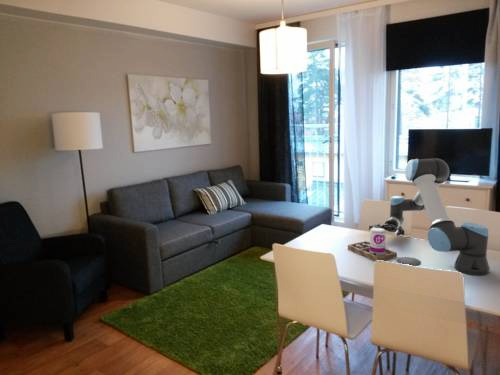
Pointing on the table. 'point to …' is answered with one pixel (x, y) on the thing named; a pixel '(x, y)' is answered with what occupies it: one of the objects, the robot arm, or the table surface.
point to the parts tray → (365, 248)
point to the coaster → (408, 261)
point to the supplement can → (377, 241)
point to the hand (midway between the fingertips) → (382, 233)
